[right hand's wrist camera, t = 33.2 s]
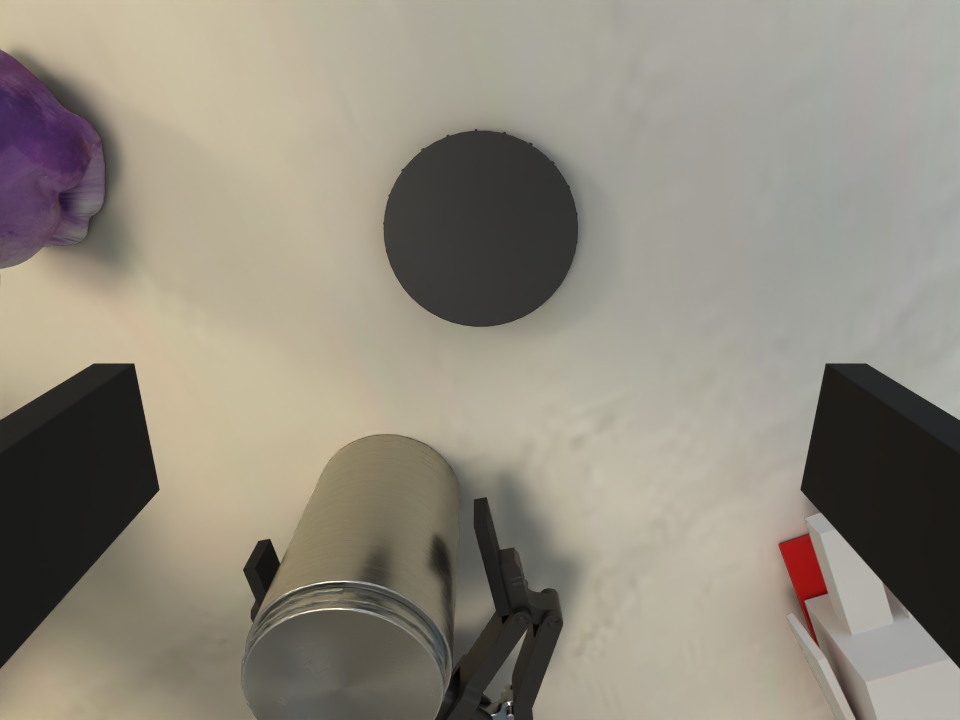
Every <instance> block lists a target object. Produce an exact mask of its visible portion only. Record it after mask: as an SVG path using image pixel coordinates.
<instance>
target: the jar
mask: <svg viewBox="0 0 960 720" xmlns="http://www.w3.org/2000/svg"><path fill="white" fill-rule="evenodd" d="M460 504H461V497H460V489H459V484H458V481H457V479H456V476H455V474H454V473H453V471H452V469H451V467H450V466H449V465H448V463H447V462H446V461H445V460H444V459H443V458H442V457H441V456H440V455H439V454H438V453H437V452H435V451H434V450H433V449H431V448H430V447H428V446H426V445H425V444H423V443H421V442H418V441H416V440H413V439H410V438H407V437H402V436H396V435H376V436H370V437H366V438H362V439H359V440H357V441H354V442H352V443H350V444H348V445H347V446H345V447H343V448H342V449H341V450H340V451H338V452H337V453H336V454H335V455H334V456H333V457H332V458H331V459H330V461H329V462H328V464H327V465H326V466H325V468H324V470H323V473H322V475H321V477H320V479H319V481H318V483H317V485H316V488H315V490H314V492H313V494H312V496H311V499H310V501H309V503H308V505H307V507H306V509H305V512H304V514H303V516H302V518H301V520H300V522H299V525H298V527H297V529H296V531H295V533H294V535H293V538H292V540H291V542H290V544H289V546H288V549H287V551H286V553H285V555H284V557H283V559H282V562H281V564H280V566H279V568H278V570H277V572H276V575H275V577H274V579H273V581H272V583H271V585H270V588H269V590H268V592H267V594H266V596H265V599H264V601H263V603H262V605H261V607H260V609H259V612H258V614H257V616H256V618H255V620H254V622H253V625H252V627H251V629H250V631H249V634H248V638H247V641H246V649H245V655H244V658H243V660H242V672H241V685H242V688H243V691H244V694H245V697H246V700H247V705H248V706H249V707H250V709H251V710H252V712H253V713H254V715H255V716H256V718H257V719H258V720H434V719H435V718H436V716H437V714H438V712H439V709H440V707H441V703H442V701H444V695H445V692H446V690H447V688H448V686H449V682H450V678H451V672H452V657H453V638H454V619H455V600H456V581H457V562H458V543H459V524H460Z"/></svg>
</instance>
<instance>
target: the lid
mask: <svg viewBox="0 0 960 720" xmlns="http://www.w3.org/2000/svg"><path fill="white" fill-rule="evenodd" d="M532 145H533V144H532V143H529V144H528V143H527V142H525V141H523V140H520V139H518V138H516V137H514V136H510V135H507V134H506V132H503V133H499V132H491V131H477V129H475V131H470V132H463V133H458V134H455V135H451V136H449V135H447V137H446V138H443V139H441V140H439V141H437V142H435V143H433V144H432V145H430V146H428V147H427V148H425V149H424V148H423V149H421V150H422V151H421V152H420V153H419V154H418V155H417V156H415V157H414V158H413V159H412V160H411V161H410V163H409V164H408V165H407V166H406V167H405V168H404V169H402V170H401V171H402V173H401V174H400V175H399V177H398V178H397V180H396V182H395V184H394V186H393V188H392V190H391V193H390V194H389V196H388V197H389V199H388V202H387V206H386V211H385V217H384V223H383V224H384V241H385V246H386V252H387V255H388V259H389V262H390V265H391V267H392V269H393V271H394V273H395V275H396V277H397V279H398V280H399V282H400V284H401V285H402V287H403V288H404V289H405V290H406V292H407V293H408V294H409V295H410V296H411V297H412V298H413V299H414V300H415V301H416V302H417V303H418V304H419V305H421V306H422V307H423V308H425V309H426V310H427V311H429V312H430V313H432V314H434V315H436V316H438V317H440V318H442V319H445V320H447V321H450V322H453V323H457V324H461V325H466V326H475V327H487V326H495V325H501V324H505V323H509V322H512V321H514V320H517V319H519V318H522V317H524V316H526V315H527V314H529V313H531V312H533V311H534V310H535V309H537V308H538V307H540V306H541V305H542V304H543V303H544V302H546V301H547V300H548V299H549V298H550V297H551V296H552V295H553V293H554V292H555V291H556V290H557V289H558V287H559V286H560V284H561V283H562V281H563V280H564V278H565V276H566V275H567V272H568V270H569V268H570V266H571V264H572V260H573V257H574V254H575V250H576V244H577V235H578V222H577V213H576V208H575V203H574V200H573V197H572V194H571V192H570V189H569V188H570V187H569V186H568V185H567V183H566V181H565V179H564V177H563V176H562V175H561V173H560V172H559V170H558V169H557V167H556V166H555V165H554V162H553V161H550V160H549V159H548V158H547V157H546V156H545V155H544V154H543V153H542V152H540V151H539V150H538V149H537V148H535V147H533V146H532Z"/></svg>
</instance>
